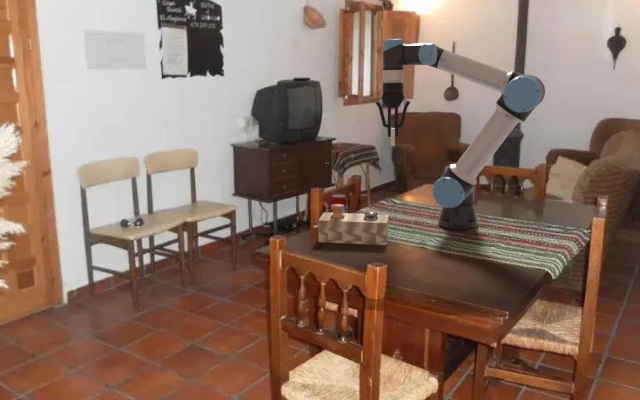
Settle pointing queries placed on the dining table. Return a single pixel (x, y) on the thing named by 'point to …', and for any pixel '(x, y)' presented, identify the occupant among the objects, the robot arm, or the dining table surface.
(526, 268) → the dining table surface
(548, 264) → the dining table surface
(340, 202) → the beverage can
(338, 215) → the terracotta plug
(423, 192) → the dining table surface
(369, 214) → the grey plug
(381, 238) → the block
